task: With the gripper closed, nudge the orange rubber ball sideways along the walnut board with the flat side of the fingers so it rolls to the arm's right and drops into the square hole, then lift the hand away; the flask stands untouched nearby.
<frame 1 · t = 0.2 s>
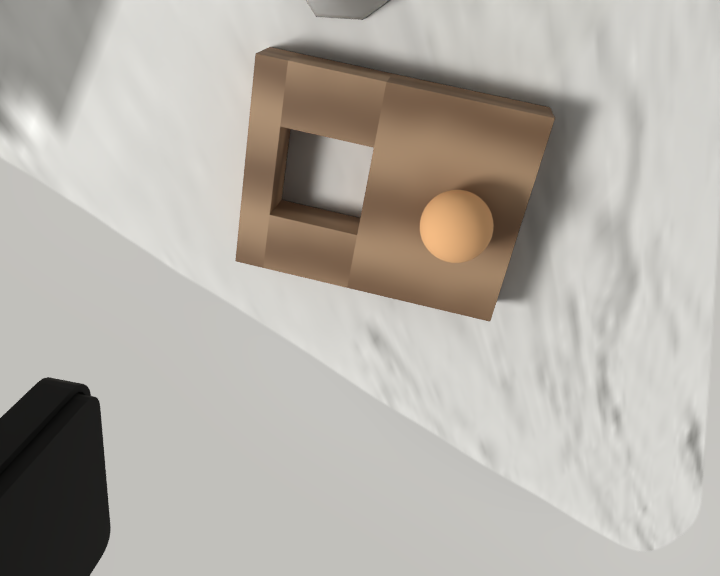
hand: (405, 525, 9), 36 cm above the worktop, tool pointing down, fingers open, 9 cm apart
board: (386, 181, 45), on the worktop
ball: (456, 226, 40), point 5 cm above the worktop, touching board
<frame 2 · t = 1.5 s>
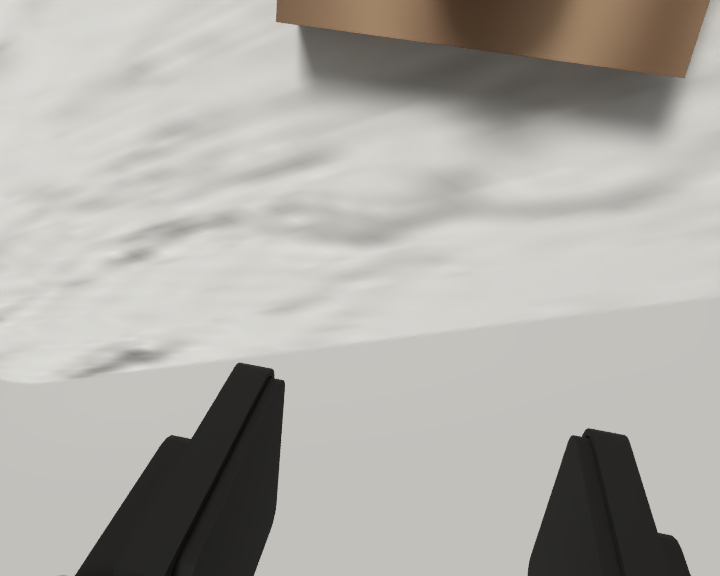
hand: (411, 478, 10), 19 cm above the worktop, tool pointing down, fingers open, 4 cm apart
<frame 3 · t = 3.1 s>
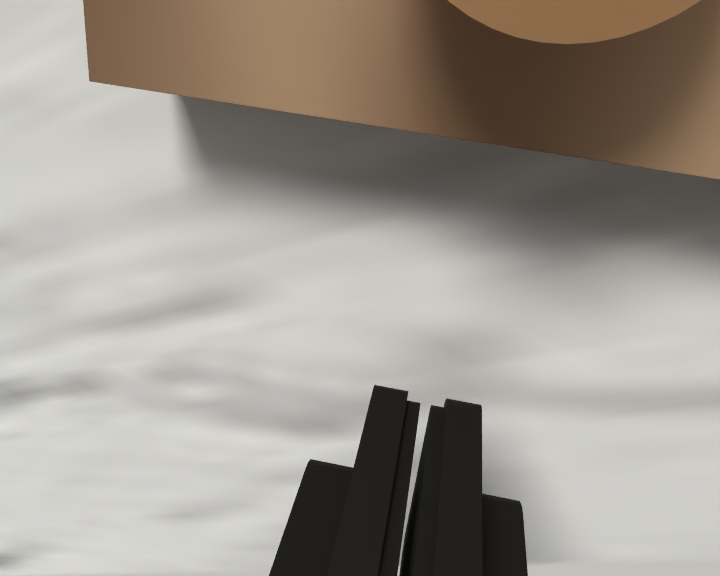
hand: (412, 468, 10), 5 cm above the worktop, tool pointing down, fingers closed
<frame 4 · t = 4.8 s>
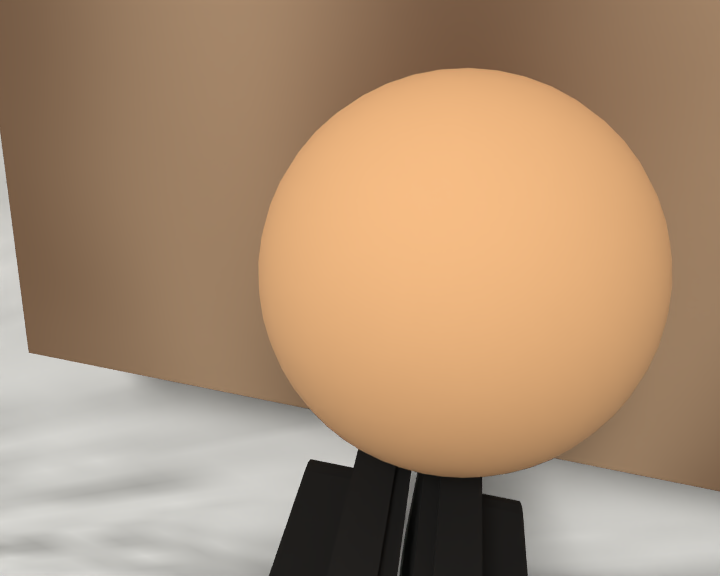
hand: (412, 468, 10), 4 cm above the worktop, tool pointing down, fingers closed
ball: (456, 274, 7), point 5 cm above the worktop, touching board
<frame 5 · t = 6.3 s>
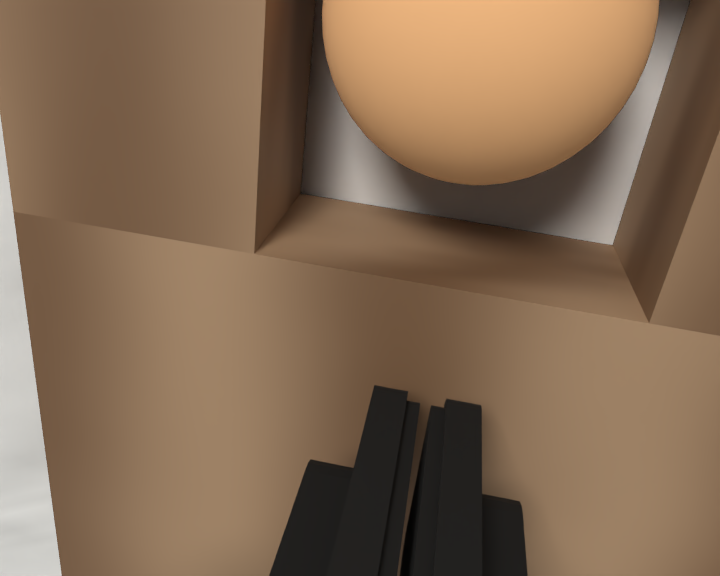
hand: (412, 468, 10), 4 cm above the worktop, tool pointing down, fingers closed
board: (444, 266, 13), on the worktop
ball: (483, 22, 9), point 2 cm above the worktop, tilted 90°
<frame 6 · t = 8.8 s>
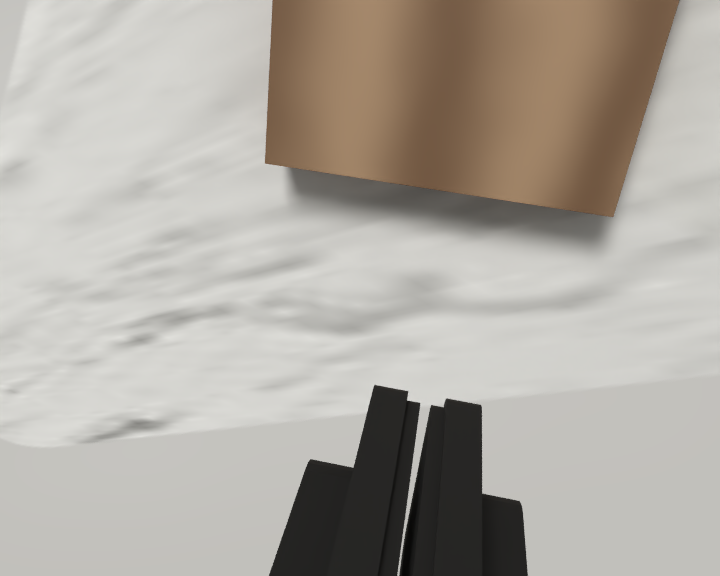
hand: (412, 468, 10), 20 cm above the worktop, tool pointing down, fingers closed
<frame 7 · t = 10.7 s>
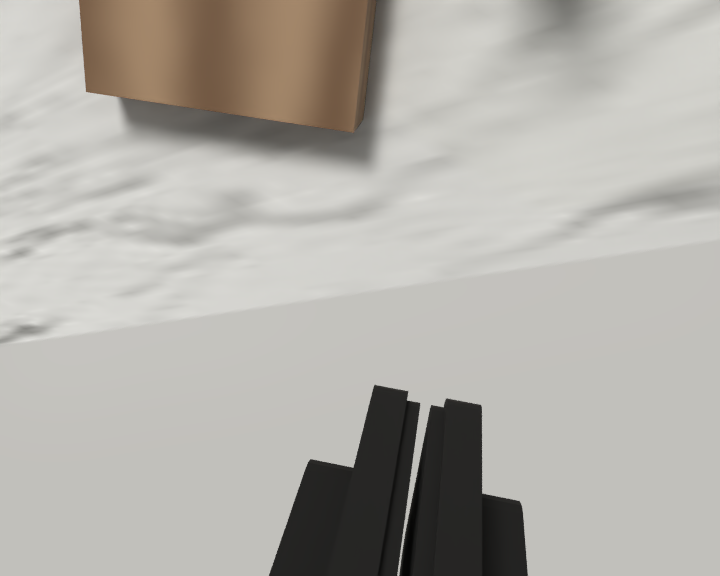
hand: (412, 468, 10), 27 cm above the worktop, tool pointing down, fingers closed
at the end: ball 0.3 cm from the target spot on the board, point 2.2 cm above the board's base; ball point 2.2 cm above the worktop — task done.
